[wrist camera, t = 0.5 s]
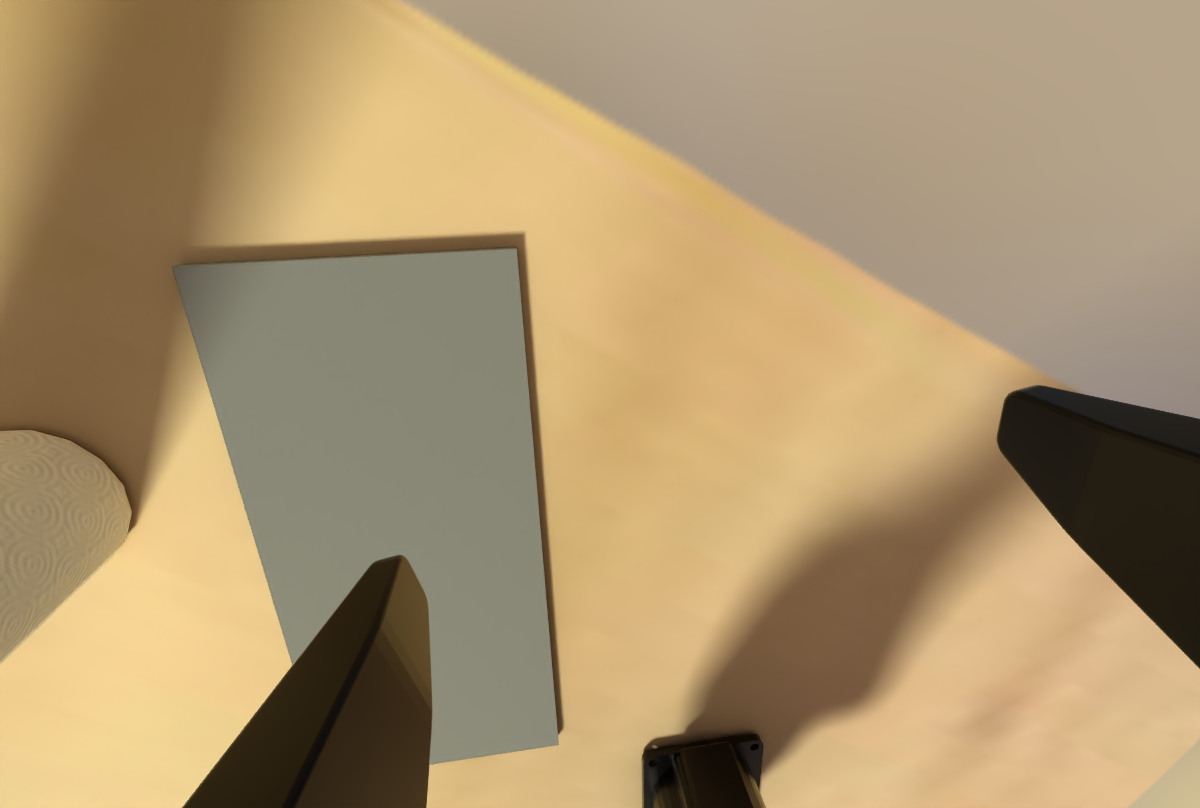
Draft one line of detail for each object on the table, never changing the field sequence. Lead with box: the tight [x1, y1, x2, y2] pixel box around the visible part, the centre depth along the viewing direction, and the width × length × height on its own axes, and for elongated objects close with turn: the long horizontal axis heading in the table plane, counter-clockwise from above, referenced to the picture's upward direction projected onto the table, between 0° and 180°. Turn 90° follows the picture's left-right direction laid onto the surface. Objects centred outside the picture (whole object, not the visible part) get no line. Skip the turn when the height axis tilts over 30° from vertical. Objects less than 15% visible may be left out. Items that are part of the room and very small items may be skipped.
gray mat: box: [172, 247, 559, 765], centre depth 24 cm, size 24×11×1 cm, turn 2°
